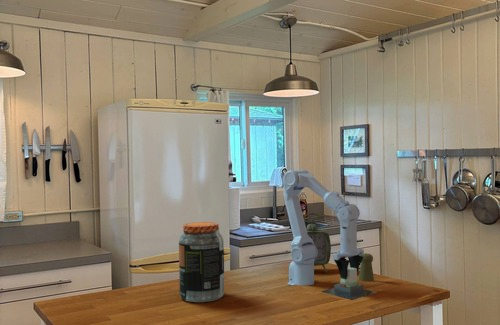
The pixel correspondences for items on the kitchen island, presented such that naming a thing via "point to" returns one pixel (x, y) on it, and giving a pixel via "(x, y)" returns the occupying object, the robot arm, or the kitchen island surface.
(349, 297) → the stand base
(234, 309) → the kitchen island surface
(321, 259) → the tabletop clock
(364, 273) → the green pawn
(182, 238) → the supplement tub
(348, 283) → the pale grey block
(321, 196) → the robot arm
